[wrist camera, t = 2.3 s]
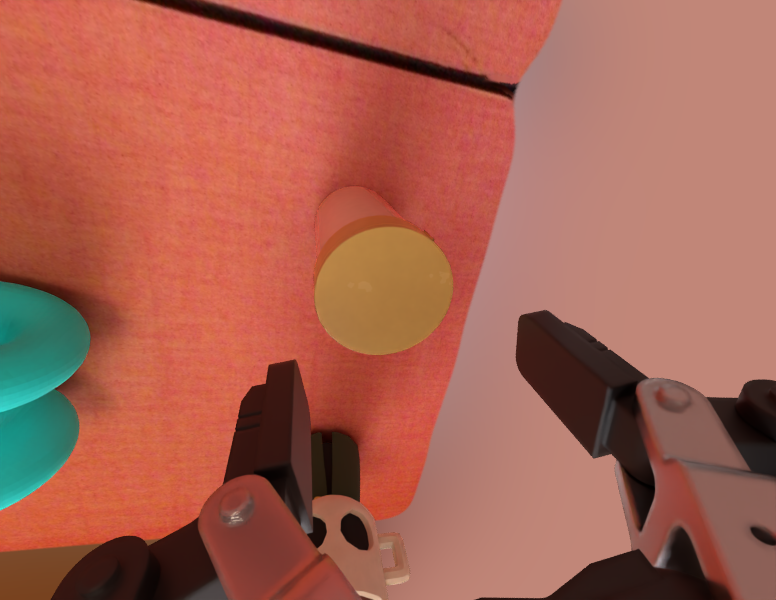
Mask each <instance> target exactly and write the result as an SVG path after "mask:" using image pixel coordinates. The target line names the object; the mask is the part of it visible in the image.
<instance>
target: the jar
mask: <svg viewBox="0 0 776 600" xmlns="http://www.w3.org/2000/svg"><path fill="white" fill-rule="evenodd" d="M376 215H386V216H393V217H397V218H401V219H403V218H402V217H401V216H400V215H399V214H398V213H397V212H396V211H395V210H394V209H393V208H392V207H391V206H390V205H389V204H388V203H387V202H386V201H385V200H384V199H383V198H382V197H381V196H380V195H379V194H378V193H376V192H375V191H373V190H371V189H368V188H365V187H360V186H348V187H344V188H340V189H338V190H336V191H334V192H332V193H331V194H330V195H328V196H327V197H326V198H325V199H324V200H323V202H322V203H321V204H320V206H319V208H318V210H317V213H316V216H315V222H314V231H315V244H316V257H317V258H318V255H319V253H320V251H321V249H322V248H323V246H324V245H325V243H326V242H327V241H328V239H329V238H330V237H331V236H332V235H333V234H334V233H335V232H337V231H338V230H339V229H341V228H342V227H343V226H345V225H347V224H349V223H350V222H353V221H355V220H357V219H360V218H364V217H368V216H376Z"/></svg>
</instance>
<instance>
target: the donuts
mask: <svg viewBox="0 0 776 600" xmlns="http://www.w3.org/2000/svg"><path fill="white" fill-rule="evenodd" d="M90 339H91V337H90V331H89V328H88V325H87V323H86V321H85V319H84V318H83V317H82V315H81V314H80V313H79V312H78V311H77V310H76V309H75V308H74V307H73V306H71V305H70V304H68V303H67V302H65V301H64V300H62V299H60V298H58V297H56V296H54V295H52V294H49V293H47V292H44V291H41V290H38V289H35V288H32V287H28V286H24V285H20V284H15V283H9V282H2V281H0V510H2V509H4V508H6V507H8V506H10V505H12V504H14V503H16V502H18V501H19V500H21V499H23V498H25V497H26V496H28V495H29V494H31V493H32V492H34V491H35V490H36V489H38V488H39V487H40V486H42V485H43V484H44V483H45V482H46V481H48V480H49V479H50V478H51V477H52V476H53V475H54V474H55V473H56V472H57V471H58V470H59V469H60V468H61V467H62V466H63V465H64V463H65V462H66V461H67V459H68V458H69V456H70V454H71V453H72V451H73V449H74V447H75V445H76V442H77V439H78V434H79V419H78V415H77V412H76V410H75V408H74V406H73V405H72V404H71V402H70V401H69V400H68V399H67V398H66V397H65V396H64V395H63V394H61V393H60V392H59V391H57V390H55V388H56V387H58V386H59V385H61V384H62V383H63V382H65V381H66V380H67V379H68V378H70V377H71V376H72V375H73V374H74V373H75V372H76V370H77V369H78V368H79V367H80V366H81V365H82V363H83V362H84V360H85V358H86V356H87V354H88V351H89V347H90Z"/></svg>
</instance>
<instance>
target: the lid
mask: <svg viewBox="0 0 776 600" xmlns="http://www.w3.org/2000/svg"><path fill="white" fill-rule="evenodd" d="M313 281H314V303H315V308H316V312H317V315H318V318H319V320H320V322H321V324H322V326H323V327H324V329H325V330H326V331H327V333H328V334H329V335H330V336H331V337H332V338H333V339H334V340H336V341H337V342H338V343H339V344H341V345H343V346H344V347H346V348H348V349H351V350H353V351H356V352H359V353H363V354H370V355H385V354H392V353H397V352H400V351H403V350H406V349H408V348H411V347H413V346H414V345H416V344H418V343H420V342H421V341H423V340H424V339H425V338H427V337H428V336H429V335H430V334H431V333H432V332H433V331H434V330H435V329H436V328H437V327H438V326H439V324H440V323H441V321H442V320H443V318H444V317H445V315H446V313H447V311H448V308H449V306H450V303H451V299H452V293H453V276H452V271H451V267H450V264H449V262H448V260H447V258H446V256H445V255H444V253H443V251H442V250H441V249H440V248H439V247H438V245H437V244H436V243H435V242H434V239H433V238H432V237H431V236H430V235H429V234H428V233H427V232H426V231H425V230H424V231H422V230H421V229H419V228H418V227H417V226H415V225H414V224H412V223H411V222H408V221H406V220H404V219H401V218H397V217H393V216H386V215H376V216H368V217H364V218H360V219H357V220H355V221H353V222H350V223H349V224H347V225H345V226H343V227H342V228H341V229H339V230H338V231H337V232H335V233H334V234H333V235H332V236H331V237H330V238H329V239H328V241H327V242H326V243H325V245H324V246H323V248H322V249H321V251H320V253H319V255H318V258H317V260H316V264H315V268H314V276H313Z"/></svg>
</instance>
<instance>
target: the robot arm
mask: <svg viewBox="0 0 776 600" xmlns="http://www.w3.org/2000/svg"><path fill="white" fill-rule="evenodd" d="M516 362H517V366H518V369H519V371H520V373H521V374H522V376H523V377H524V378H525V379H526V381H527V382H528V383H529V384H530V385H531V386H532V387H533V389H534V390H535V391H536V392H537V393H538V395H540V397H541V398H542V399H543V400H544V401H545V403H546V404H547V405H548V406H549V407H550V408H551V410H552V411H553V412H554V413H555V414H556V415H557V416H558V418H559V419H560V420H561V421H562V422H563V424H564V425H565V426H566V427H567V428H568V429H569V430H570V432H571V433H572V434H573V435H574V436H575V438H576V439H577V440H578V441H579V442H580V443H581V444H582V446H583V447H584V448H585V449H586V450H587V451H588V453H589V454H590V455H591V456H592V457H593V458H598V457H602V456H605V455H609V454H612V455H613V456H614V457H615V458H616V459H617V460H616V464H615V475H616V479H617V483H618V488H619V492H620V496H621V500H622V505H623V509H624V513H625V518H626V521H627V526H628V531H629V535H630V540H631V547H632V551H630V552H627V553H624V554H620V555H617V556H614V557H611V558H607V559H604V560H601V561H598V562H594V563H591V564H589V565H588V566H587V567H586V568H584V569H583V570H582V571H581V572H579V573H578V574H577V575H576V576H574V577H573V578H572V579H570V580H569V581H568V582H567V583H565V584H564V585H563V586H562V587H560V588H559V589H558V590H557V591H555V592H554V593H553V594H552V595H550V596H548V597H546V598H479V599H476V600H776V381H773V380H752V381H749V382H747V383H746V384H744V386H743V389H742V391H741V393H740V395H739V397H738V398H716V397H715V398H714V397H713V398H712V397H705V396H704V395H703V394H701V393H700V392H699V391H697V390H696V389H694V388H692V387H690V386H688V385H686V384H683V383H681V382H678V381H674V380H670V379H664V378H651V379H649V378H648V377H646V376H645V375H644V374H642V373H641V372H640V371H638V370H637V369H636V368H634V367H633V366H632V365H630V364H629V363H628V362H626V361H625V360H624V359H622V358H621V357H620V356H618V355H617V354H615V353H614V352H613V351H611V350H608V349H607V347H606V346H605V345H603V344H602V343H601V342H599V341H598V342H597V340H596V339H595V338H594V337H592V336H591V335H590V334H589V333H587V332H586V331H585V330H583V329H581V328H578V327H576V326H573V325H571V324H569V323H566V322H565V323H563V322H562V321H561V320H559V319H558V318H557V317H555V316H554V315H553V314H552V313H550V312H549V311H547V310H543V311H539V312H533V313H528V314H524V315H521V316H520V318H519V321H518V333H517V346H516ZM235 430H236V432H234V437H233V441H232V446H231V450H230V455H229V459H228V464H227V468H226V473H225V477H224V482H223V485H222V486H221V487H219V488H218V489H217V490H216V491H215V492H214V493H213V494H212V495H211V496H210V497H209V498H208V499H207V501H206V502H205V504H204V506H203V508H202V509H201V512H200V515H199V517H198V518H197V519H195V520H194V521H193V522H191V523H189V524H188V525H186V526H184V527H183V528H181V529H179V530H177V531H175V532H173V533H172V534H170V535H168V536H166V537H164V538H162V539H160V540H158V541H157V542H155V543H153V544H151V545H149V546H147V544H146V543H145V541H144V540H143V539H141V538H139V537H136V536H122V537H119V538H115V539H113V540H110V541H108V542H106V543H104V544H102V545H100V546H99V547H97V548H96V549H94V550H92V551H91V552H90V553H89V554H87V555H86V556H85V557H84V558H82V559H81V560H80V561H79V562H78V563H77V564H76V565H75V566H74V567H73V568H72V569H71V570H70V571H69V572H68V574H67V575H66V576H65V578H64V579H63V580H62V582H61V583H60V585H59V586H58V588H57V590H56V591H55V593H54V595H53V597H52V598H51V600H362V598H361V597H360V596H359V594H358V593H357V592H356V590H355V589H354V587H353V586H352V585H351V583H350V582H349V581H348V579H347V578H346V577H345V575H344V574H343V572H342V571H341V570H340V568H339V567H338V566H337V564H336V563H335V562H334V561H333V559H332V558H331V557H330V556H329V555H328V554H326V553H324V554H321V553H320V552H319V551H318V549H317V548H316V547H315V545H314V544H313V543H312V541H311V540H310V538H309V537H308V536H307V534H308V533H312V532H313V509H312V465H311V423H310V412H309V406H308V401H307V397H306V394H305V390H304V386H303V382H302V378H301V374H300V371H299V367H298V364H297V361H296V360H290V361H285V362H280V363H275V364H270V365H269V366H268V372H267V379H266V384H262V385H257V386H252V387H251V389H250V390H249V392H248V393H247V394H246V396H245V397H244V398H243V400H242V401H241V405H240V410H239V414H238V419H237V423H236V428H235Z"/></svg>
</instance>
